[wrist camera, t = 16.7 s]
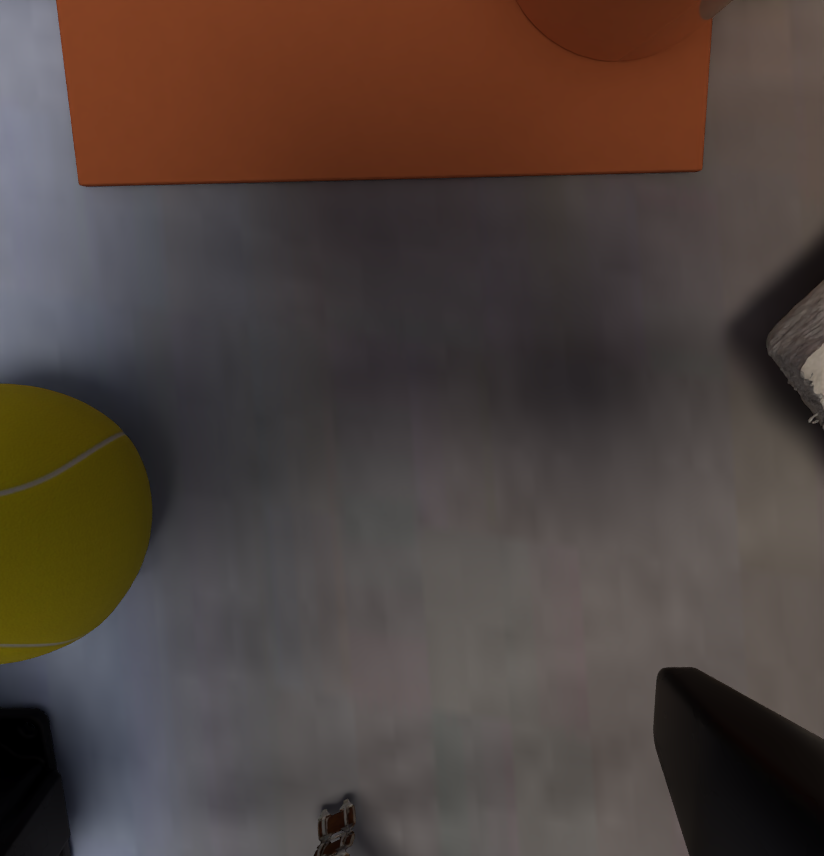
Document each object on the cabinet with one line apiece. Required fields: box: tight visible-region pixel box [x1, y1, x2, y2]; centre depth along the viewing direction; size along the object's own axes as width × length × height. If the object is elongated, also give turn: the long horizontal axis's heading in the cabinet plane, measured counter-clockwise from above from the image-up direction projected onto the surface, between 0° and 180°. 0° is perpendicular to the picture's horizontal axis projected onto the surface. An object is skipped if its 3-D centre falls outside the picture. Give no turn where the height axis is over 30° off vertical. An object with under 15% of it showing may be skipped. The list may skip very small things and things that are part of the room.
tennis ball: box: [0, 384, 152, 664], centre depth 18 cm, size 7×7×7 cm
